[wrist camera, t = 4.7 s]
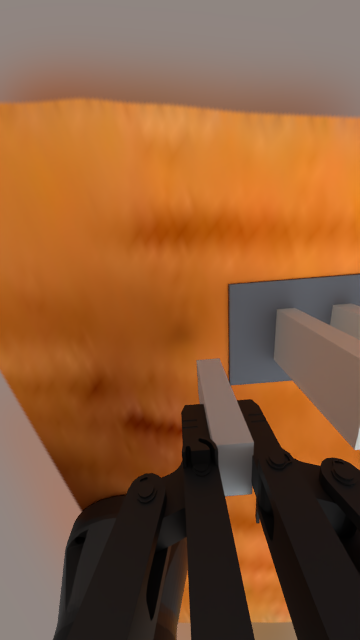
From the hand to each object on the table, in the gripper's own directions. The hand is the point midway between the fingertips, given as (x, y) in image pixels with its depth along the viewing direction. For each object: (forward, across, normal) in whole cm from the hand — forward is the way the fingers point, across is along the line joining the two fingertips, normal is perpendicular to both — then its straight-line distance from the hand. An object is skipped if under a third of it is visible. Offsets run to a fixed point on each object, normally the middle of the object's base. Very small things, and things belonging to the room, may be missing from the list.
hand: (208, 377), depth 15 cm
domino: (+6, +8, 0) cm, 10 cm away
